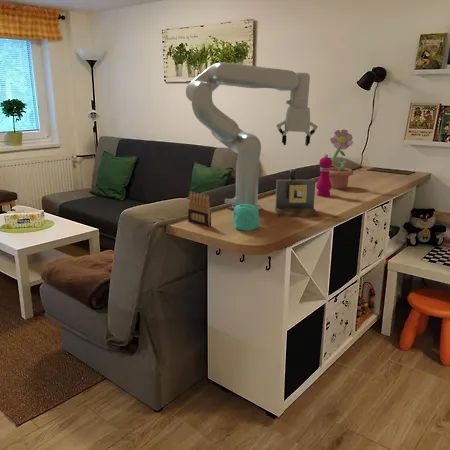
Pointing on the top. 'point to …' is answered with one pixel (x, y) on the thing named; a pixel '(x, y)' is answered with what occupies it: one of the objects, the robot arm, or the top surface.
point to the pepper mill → (324, 177)
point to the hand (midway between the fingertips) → (295, 145)
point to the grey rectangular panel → (283, 194)
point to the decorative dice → (246, 217)
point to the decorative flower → (340, 174)
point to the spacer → (291, 193)
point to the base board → (296, 212)
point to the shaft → (293, 177)
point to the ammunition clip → (199, 210)
